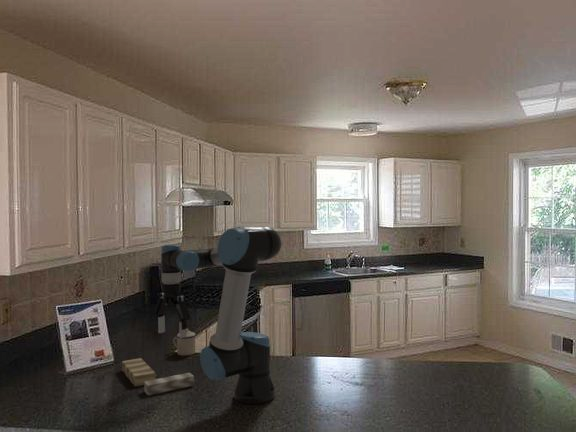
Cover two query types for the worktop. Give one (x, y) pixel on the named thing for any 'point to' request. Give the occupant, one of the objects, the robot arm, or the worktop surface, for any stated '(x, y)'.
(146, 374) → the oak floor row
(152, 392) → the plank
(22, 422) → the worktop surface
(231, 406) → the worktop surface
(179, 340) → the teacup with lid
